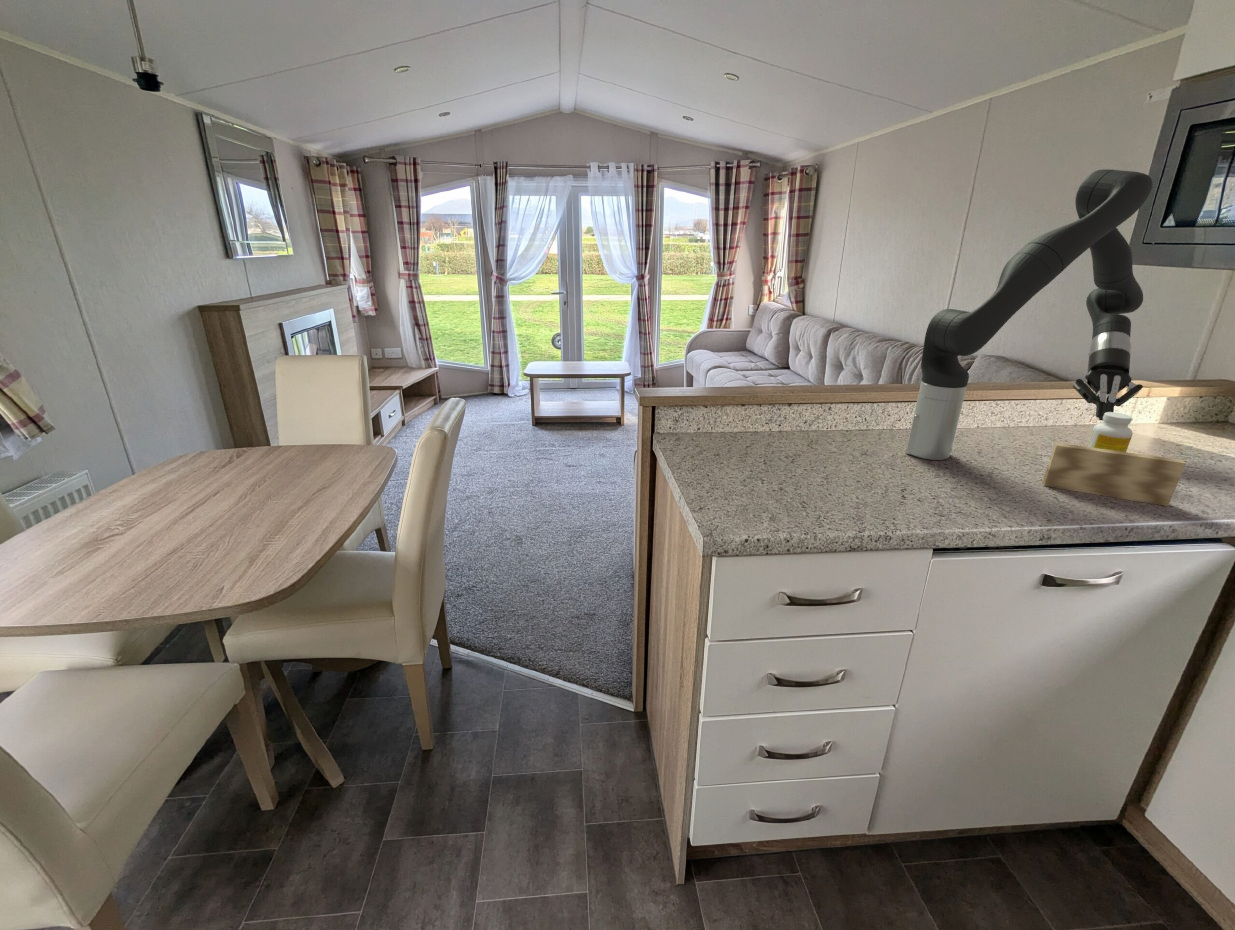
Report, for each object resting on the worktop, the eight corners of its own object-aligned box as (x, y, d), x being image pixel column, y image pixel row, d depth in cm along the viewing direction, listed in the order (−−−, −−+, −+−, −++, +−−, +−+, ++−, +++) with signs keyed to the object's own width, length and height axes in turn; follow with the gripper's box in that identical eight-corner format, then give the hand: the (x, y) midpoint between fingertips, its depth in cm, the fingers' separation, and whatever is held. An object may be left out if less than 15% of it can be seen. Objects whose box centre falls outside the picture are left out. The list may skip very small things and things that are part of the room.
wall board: (1043, 485, 119) (1056, 445, 116) (1039, 474, 125) (1052, 436, 121) (1168, 506, 111) (1186, 463, 107) (1158, 493, 116) (1174, 452, 112)
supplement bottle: (1124, 477, 124) (1146, 421, 119) (1090, 474, 125) (1110, 418, 120) (1107, 465, 130) (1126, 411, 125) (1074, 463, 131) (1092, 409, 126)
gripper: (1080, 344, 136) (1074, 407, 131) (1152, 349, 130) (1148, 415, 125) (1070, 362, 142) (1063, 422, 137) (1137, 367, 136) (1133, 430, 131)
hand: (1104, 418), depth 131 cm, fingers closed
